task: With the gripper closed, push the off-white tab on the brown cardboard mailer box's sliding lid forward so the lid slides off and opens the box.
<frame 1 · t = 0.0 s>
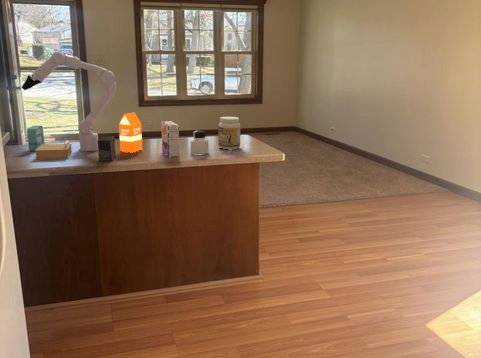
hand: (24, 88, 227), 32 cm above the table, tool tilted 50°, fingers open, 7 cm apart
small box: (107, 159, 221), on the table
data package: (37, 149, 240), on the table
orange juice: (131, 151, 240), on the table
mailer box: (54, 156, 225), on the table
mailer lid: (53, 145, 224), point 6 cm above the table, slide at 0.0 cm
candy box: (170, 154, 233), on the table
medicine bottle: (199, 154, 236), on the table
supplement tub: (229, 148, 251), on the table
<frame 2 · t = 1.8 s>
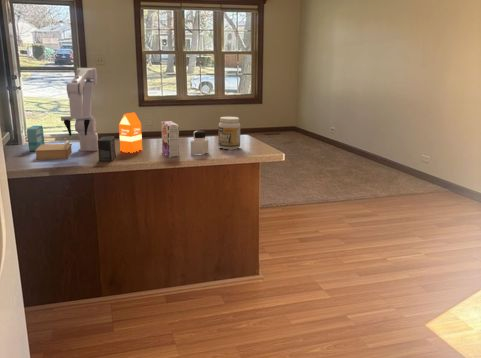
hand: (78, 135, 224), 10 cm above the table, tool pointing down, fingers open, 7 cm apart
nothing on the table moved.
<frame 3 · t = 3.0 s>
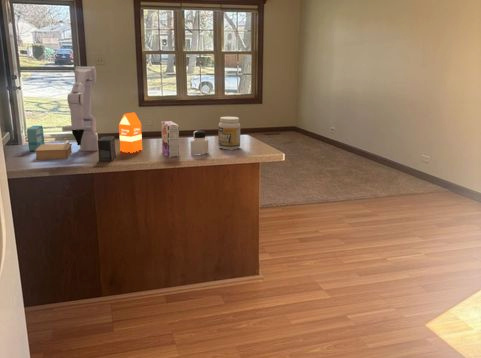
hand: (79, 144, 226), 5 cm above the table, tool pointing down, fingers closed
nothing on the table moved.
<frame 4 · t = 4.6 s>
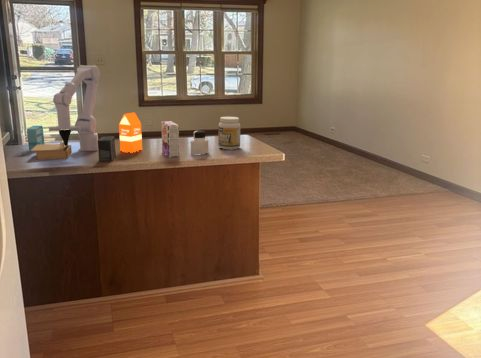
hand: (66, 145, 225), 5 cm above the table, tool pointing down, fingers closed
mailer lid: (49, 145, 223), point 6 cm above the table, slide at 2.1 cm, touching gripper
everything else where it was.
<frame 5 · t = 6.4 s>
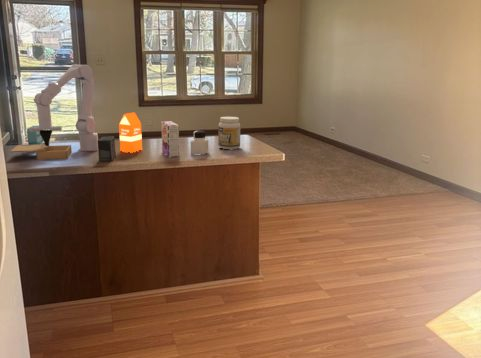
hand: (47, 145, 223), 5 cm above the table, tool pointing down, fingers closed
mailer lid: (30, 145, 221), point 6 cm above the table, slide at 10.9 cm, touching gripper
everything else where it was.
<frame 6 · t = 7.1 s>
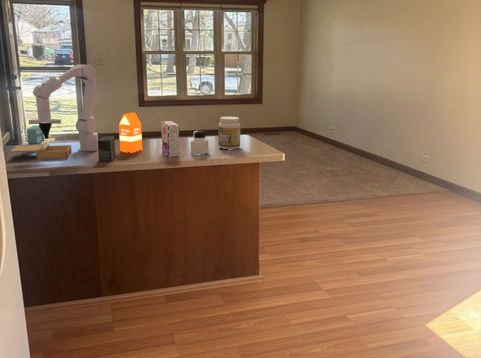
hand: (46, 138, 222), 9 cm above the table, tool pointing down, fingers closed
mailer lid: (30, 145, 221), point 6 cm above the table, slide at 10.9 cm
everything else where it was.
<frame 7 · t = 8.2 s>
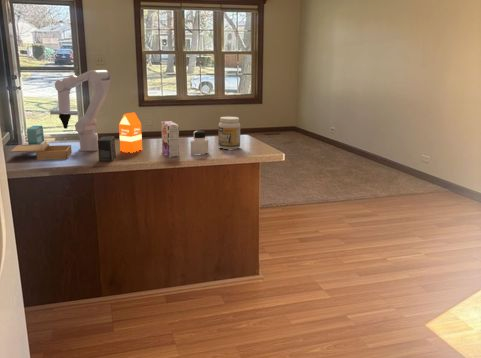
hand: (65, 128, 244), 10 cm above the table, tool pointing down, fingers closed
nothing on the table moved.
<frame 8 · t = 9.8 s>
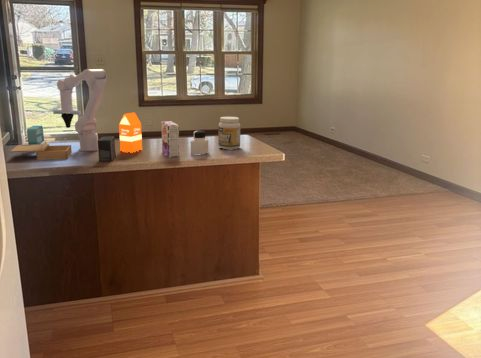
hand: (68, 127, 246), 10 cm above the table, tool pointing down, fingers closed
nothing on the table moved.
at the end: mailer lid slide at 10.9 cm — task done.
